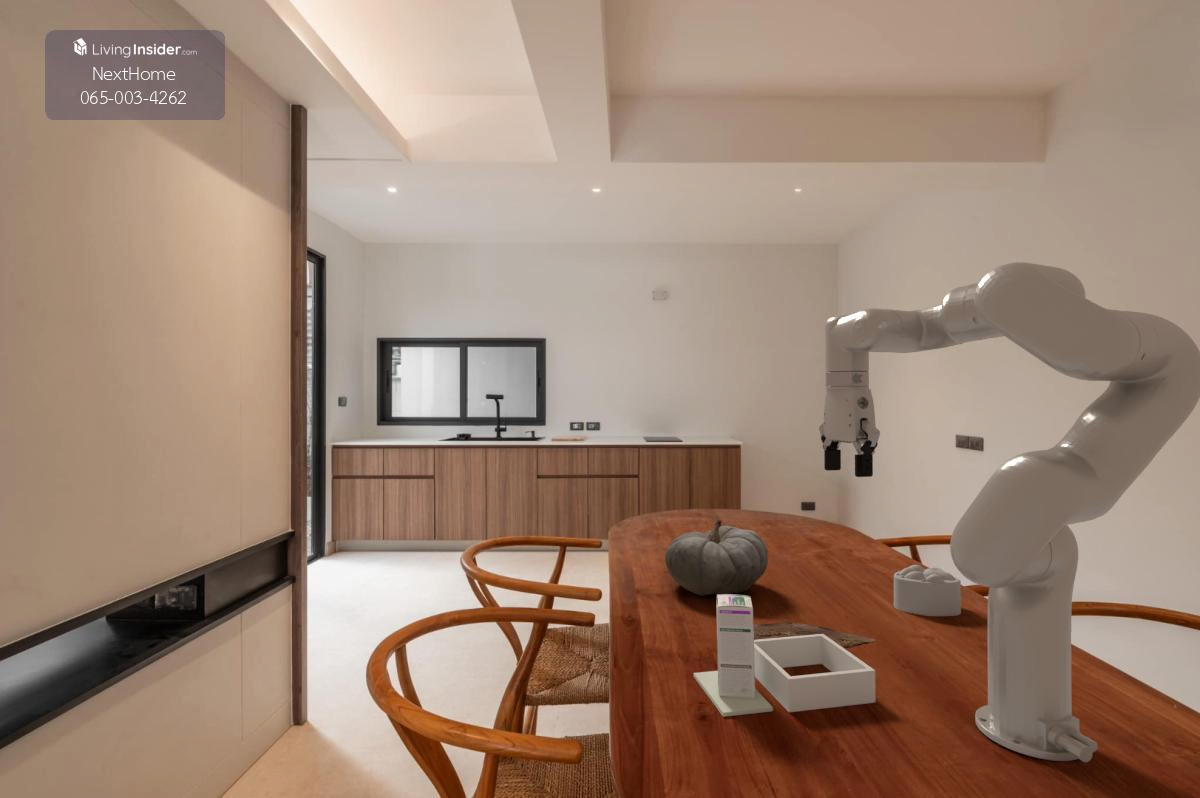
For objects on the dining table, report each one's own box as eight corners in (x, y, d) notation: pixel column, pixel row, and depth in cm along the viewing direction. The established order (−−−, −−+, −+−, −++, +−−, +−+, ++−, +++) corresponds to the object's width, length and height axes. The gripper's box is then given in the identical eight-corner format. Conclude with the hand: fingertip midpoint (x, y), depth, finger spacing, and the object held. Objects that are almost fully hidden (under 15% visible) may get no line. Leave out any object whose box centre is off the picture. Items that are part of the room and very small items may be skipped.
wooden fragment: (737, 640, 117) (737, 634, 117) (741, 620, 127) (741, 615, 127) (881, 657, 109) (881, 651, 109) (872, 634, 119) (872, 629, 119)
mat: (772, 711, 90) (772, 707, 90) (723, 716, 88) (723, 712, 88) (737, 672, 102) (737, 668, 102) (693, 676, 101) (693, 673, 101)
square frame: (875, 702, 92) (875, 670, 92) (788, 712, 89) (788, 679, 89) (823, 661, 106) (823, 633, 106) (747, 668, 104) (747, 640, 104)
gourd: (795, 585, 141) (780, 514, 141) (710, 620, 130) (694, 543, 131) (731, 569, 164) (718, 507, 164) (654, 597, 153) (641, 532, 153)
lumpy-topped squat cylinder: (967, 616, 128) (967, 576, 128) (908, 616, 128) (907, 576, 128) (939, 599, 138) (938, 562, 138) (884, 600, 138) (883, 563, 138)
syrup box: (756, 700, 92) (755, 606, 92) (717, 697, 93) (716, 604, 93) (753, 682, 97) (752, 594, 97) (716, 679, 98) (715, 592, 98)
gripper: (896, 380, 103) (896, 478, 103) (838, 383, 120) (838, 467, 120) (857, 380, 102) (857, 480, 102) (804, 383, 119) (804, 468, 119)
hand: (847, 473), depth 111 cm, fingers open, 9 cm apart
